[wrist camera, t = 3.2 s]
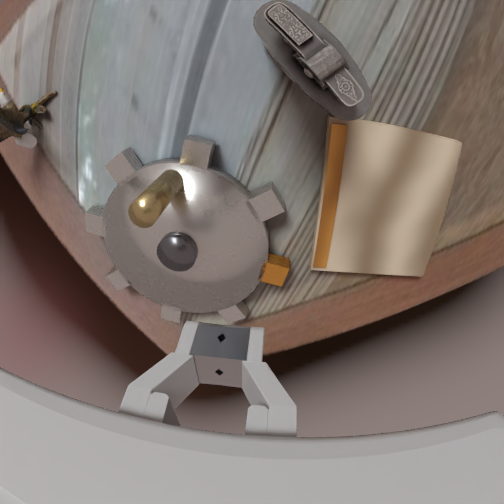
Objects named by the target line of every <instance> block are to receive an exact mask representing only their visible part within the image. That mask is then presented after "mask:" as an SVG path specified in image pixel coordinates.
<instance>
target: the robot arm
mask: <svg viewBox="0 0 504 504" xmlns="http://www.w3.org/2000/svg"><path fill="white" fill-rule="evenodd" d="M263 342H264V328H260V327H246V326H232V325H218V324H210V323H202V322H193V321H186V323H185V324H184V327H183V330H182V333H181V336H180V339H179V342H178V345H177V348H176V351H175V353H172V352H171V353H170V354H169V355H167V356H166V357H165V358H164V359H163V360H161V361H160V362H158V363H157V364H156V365H155V366H153V367H152V368H150V369H149V370H148V371H147V372H145V373H144V374H143V375H141V376H140V377H139V378H137V379H136V380H135V381H133V382H132V383H131V384H129V386H128V388H127V390H126V393H125V396H124V398H123V401H122V404H121V406H120V409H119V412H115V411H112V410H108V409H104V408H101V407H98V406H95V405H92V404H88V403H85V402H82V401H79V400H77V399H74V398H71V397H68V396H65V395H63V394H60V393H57V392H55V391H52V390H50V389H47V388H45V387H42V386H40V385H37V384H35V383H32V382H30V381H28V380H26V379H23V378H21V377H19V376H17V375H15V374H13V373H11V372H9V371H7V370H5V369H2V368H1V367H0V504H504V415H502V414H501V413H500V412H498V411H493V412H488V413H484V414H481V415H477V416H473V417H470V418H466V419H462V420H457V421H453V422H449V423H444V424H440V425H434V426H429V427H424V428H418V429H411V430H405V431H398V432H390V433H381V434H371V435H360V436H345V437H318V438H317V437H314V438H313V437H312V438H311V437H307V438H306V437H300V438H299V437H296V434H297V433H296V431H297V428H296V427H297V412H296V411H297V406H296V405H295V404H294V402H293V401H292V399H291V398H290V396H289V395H288V394H287V392H286V391H285V389H284V388H283V387H282V385H281V384H280V382H279V381H278V379H277V378H276V376H275V375H274V374H273V372H272V371H271V369H270V368H269V366H268V365H267V363H266V362H262V355H263ZM199 383H206V384H216V385H225V386H233V387H241V388H242V389H243V391H244V393H245V395H246V397H247V398H248V401H249V402H250V404H251V406H250V407H249V408H248V415H247V422H246V430H245V435H242V434H232V433H223V432H215V431H207V430H200V429H193V428H187V427H181V426H180V423H179V421H178V419H177V416H176V414H175V411H174V409H175V408H176V407H177V406H178V405H179V404H180V403H181V402H182V401H183V400H184V399H185V398H186V397H187V396H188V395H189V394H190V393H191V392H192V391H193V390H194V389H195V388H196V387H197V386H198V385H199Z"/></svg>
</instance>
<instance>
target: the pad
mask: <svg viewBox="0 0 504 504" xmlns="http://www.w3.org/2000/svg"><path fill="white" fill-rule="evenodd" d="M461 147H462V143H461V142H459V141H457V140H454V139H451V138H447V137H443V136H439V135H435V134H431V133H427V132H423V131H419V130H414V129H410V128H405V127H400V126H395V125H390V124H385V123H379V122H373V121H367V120H361V119H356V120H351V121H344V120H340V119H338V118H336V117H334V116H331V115H328V117H327V129H326V139H325V149H324V159H323V168H322V177H321V185H320V194H319V201H318V209H317V217H316V224H315V231H314V238H313V245H312V251H311V258H310V270H319V271H335V272H351V273H368V274H385V275H403V276H421V277H423V275H424V272H425V269H426V267H427V264H428V262H429V259H430V256H431V254H432V251H433V248H434V245H435V242H436V239H437V236H438V233H439V230H440V227H441V224H442V221H443V218H444V215H445V211H446V208H447V205H448V201H449V197H450V194H451V190H452V186H453V182H454V178H455V174H456V170H457V166H458V161H459V157H460V152H461Z"/></svg>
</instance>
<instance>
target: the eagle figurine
mask: <svg viewBox="0 0 504 504" xmlns="http://www.w3.org/2000/svg"><path fill="white" fill-rule="evenodd" d="M56 93H57V91H53V92H49V93H47V94H46V95H44V96H43V97H42V98H41V99H40V100H38V101H37V102H35V103H34V104H31V105H24V106H22V107H21V108H20V110H19V111H18V109H17V107H16V105H15V104H14V103H13V102H12V101H11V100H10V99H9V97H8V96H7V95H6V93H5V92H4V91H3V88H1V89H0V103H1V106H2V108H0V142H2V141H4V140H5V139H7V138H8V137H11V136H14V137H15V142H16V143H17V144H18V145H19V146H23V147H26V148H33V147H35V146H36V144H37V138H36V137H35V136H34V135H32V134H31V133H29V132H27V131H28V129H26V128H24V126H23V125H24V123H25V122H26V121H29V124H30V125H32V124H33V125H35V126H37V127H39V128H40V127H42V125H41V124H39V123H38V121H37V119H36V115H35V113H38V114H39V113H46V108H45V107H44V106H42V105H43V103H44V102H45V101H46V100H48V99H49V98H50V97H52V96H54V95H55V94H56Z"/></svg>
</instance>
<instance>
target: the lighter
mask: <svg viewBox="0 0 504 504" xmlns="http://www.w3.org/2000/svg"><path fill="white" fill-rule="evenodd" d="M253 25H254V28H255V30H256V32H257V34H258V35H259V36H260V38H261V39H262V41H263V44H264V45H265V47H266V48H267V50H268V51H269V53H270V54H271V56H272V57H273V59H274V60H275V62H276V63H277V64H278V65H279V66H280V68H281V69H282V70H283V71H284V72H285V74H286V75H287V76H288V77H289V78H290V79H291V80H292V81H293V82H294V83H295V84H296V85H297V86H298V87H299V88H300V89H301V90H302V91H304V92H305V93H306V94H307V95H309V96H310V97H311V98H312V99H314V100H315V101H316V102H317V103H318V104H320V105H321V106H323V107H324V108H325V109H326V110H327V111H328V112H330V113H331V114H332V115H333V116H334V117H336V118H338V119H340V120H344V121H351V120H356V119H358V118H360V117H362V116H363V115H364V114H365V113H366V112H367V111H368V110H369V108H370V106H371V102H372V95H371V91H370V89H369V87H368V85H367V83H366V81H365V79H364V77H363V75H362V73H361V71H360V69H359V68H358V66H357V64H356V63H355V61H354V60H353V59H352V57H351V56H350V54H349V53H348V52H347V50H346V49H345V48H344V46H343V45H342V44H341V42H340V41H339V40H338V39H337V38H336V37H335V36H334V35H333V34H332V33H331V32H330V31H329V30H328V29H327V28H325V27H324V26H323V25H322V24H321V23H320V22H319V21H318V20H317V19H315V18H314V17H313V16H311V15H310V14H308V13H307V12H305V11H304V10H303V9H301V8H300V7H298V6H297V5H295V4H294V3H291V2H289V1H287V0H275V1H270V2H268V3H266V4H264V5H262V6H261V7H260V8H259V9H258V10H257V12H256V14H255V16H254V21H253Z"/></svg>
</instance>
